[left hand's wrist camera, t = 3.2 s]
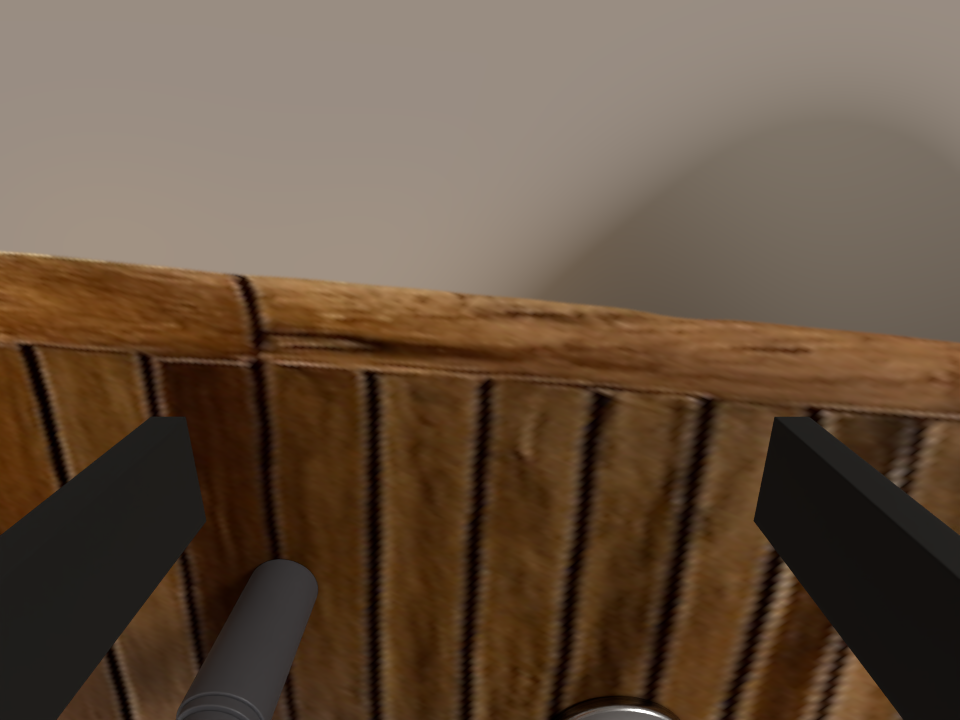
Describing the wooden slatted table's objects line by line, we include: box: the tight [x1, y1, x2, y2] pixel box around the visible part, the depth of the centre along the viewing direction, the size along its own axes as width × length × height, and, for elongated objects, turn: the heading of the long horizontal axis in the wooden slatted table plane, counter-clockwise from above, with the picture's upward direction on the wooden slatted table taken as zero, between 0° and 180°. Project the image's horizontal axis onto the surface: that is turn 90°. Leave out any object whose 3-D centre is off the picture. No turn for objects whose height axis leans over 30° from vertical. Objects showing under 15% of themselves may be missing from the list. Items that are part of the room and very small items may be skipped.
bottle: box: [176, 559, 318, 720], centre depth 40 cm, size 6×6×19 cm
